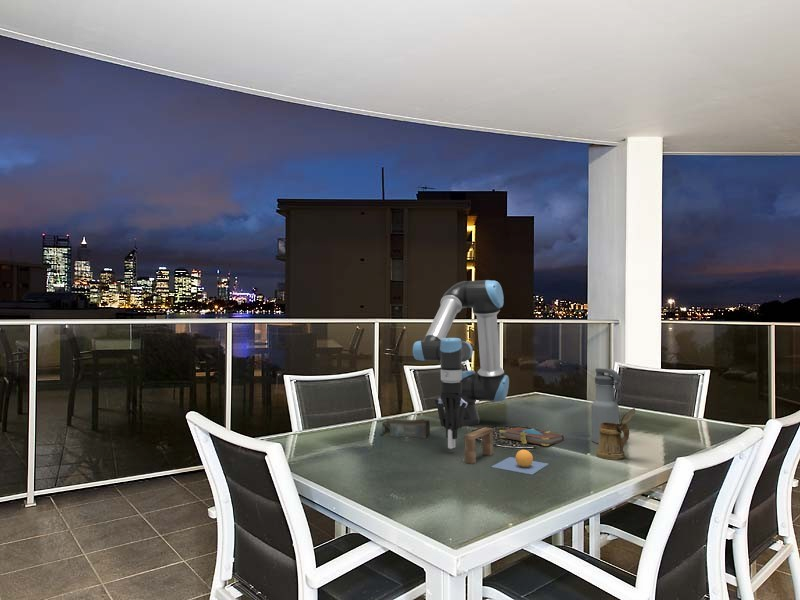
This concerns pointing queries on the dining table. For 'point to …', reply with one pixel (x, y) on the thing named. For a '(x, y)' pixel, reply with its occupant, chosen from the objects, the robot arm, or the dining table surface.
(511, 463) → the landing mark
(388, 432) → the beverage carton
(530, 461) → the ball
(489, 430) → the bridge
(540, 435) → the book
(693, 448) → the dining table surface
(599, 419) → the water bottle
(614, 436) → the wooden mug
